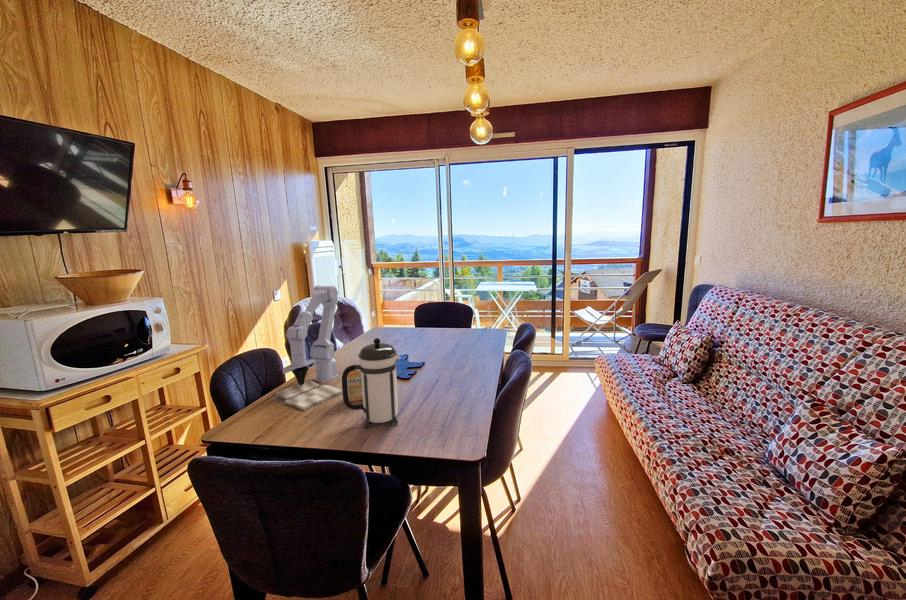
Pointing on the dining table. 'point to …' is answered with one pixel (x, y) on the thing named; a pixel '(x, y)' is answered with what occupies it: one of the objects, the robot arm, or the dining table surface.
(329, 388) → the floor panel
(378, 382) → the coffee press
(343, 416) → the dining table surface
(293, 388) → the loose plank
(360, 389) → the supplement box
